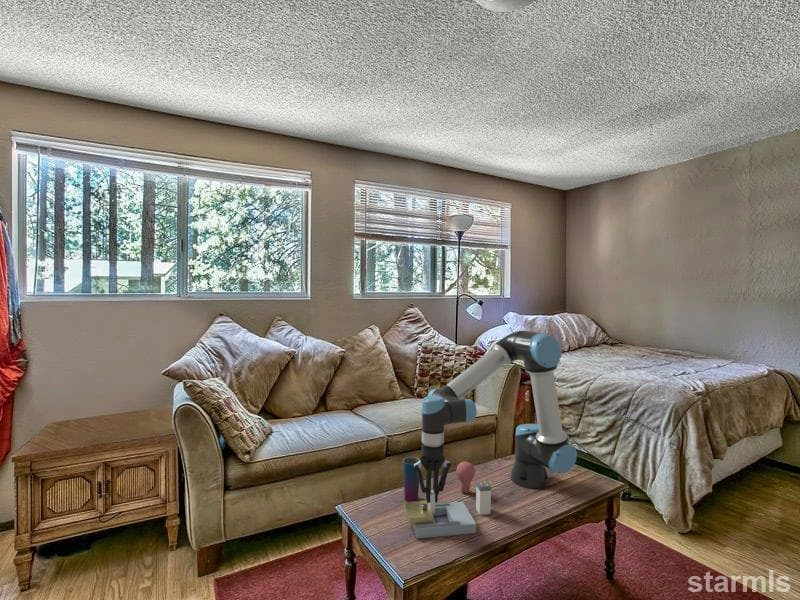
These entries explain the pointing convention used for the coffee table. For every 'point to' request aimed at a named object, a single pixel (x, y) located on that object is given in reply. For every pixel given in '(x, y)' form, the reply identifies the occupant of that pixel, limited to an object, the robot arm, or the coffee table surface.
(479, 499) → the plug
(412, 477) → the cup
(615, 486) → the coffee table surface
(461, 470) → the light bulb
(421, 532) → the socket board
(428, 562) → the coffee table surface
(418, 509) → the panel
